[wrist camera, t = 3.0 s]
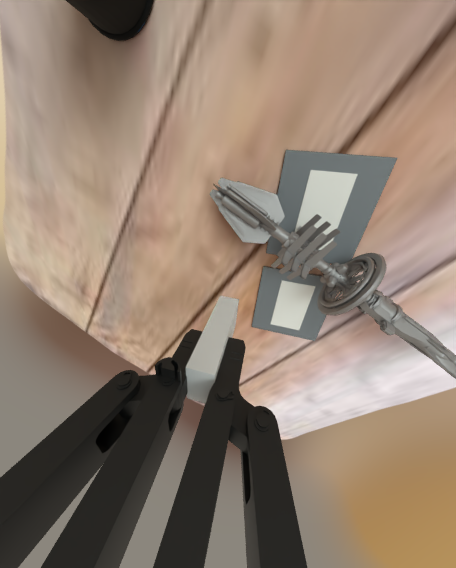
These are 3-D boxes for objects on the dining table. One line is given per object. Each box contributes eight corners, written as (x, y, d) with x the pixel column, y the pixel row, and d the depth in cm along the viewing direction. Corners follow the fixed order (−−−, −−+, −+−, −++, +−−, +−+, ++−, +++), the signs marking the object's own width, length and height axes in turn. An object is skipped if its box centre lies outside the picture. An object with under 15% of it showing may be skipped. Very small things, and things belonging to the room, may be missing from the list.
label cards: (286, 150, 19) (286, 149, 19) (395, 158, 18) (398, 157, 17) (251, 325, 32) (251, 327, 31) (314, 339, 30) (314, 341, 30)
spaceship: (436, 415, 22) (560, 426, 15) (185, 231, 21) (204, 159, 14) (427, 353, 26) (520, 342, 20) (221, 200, 25) (247, 135, 19)
